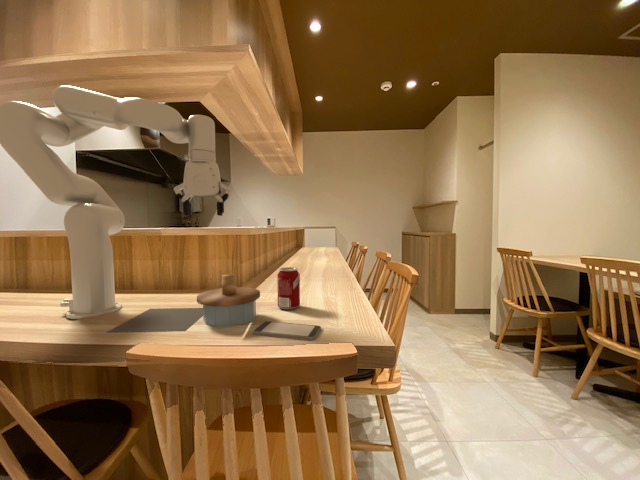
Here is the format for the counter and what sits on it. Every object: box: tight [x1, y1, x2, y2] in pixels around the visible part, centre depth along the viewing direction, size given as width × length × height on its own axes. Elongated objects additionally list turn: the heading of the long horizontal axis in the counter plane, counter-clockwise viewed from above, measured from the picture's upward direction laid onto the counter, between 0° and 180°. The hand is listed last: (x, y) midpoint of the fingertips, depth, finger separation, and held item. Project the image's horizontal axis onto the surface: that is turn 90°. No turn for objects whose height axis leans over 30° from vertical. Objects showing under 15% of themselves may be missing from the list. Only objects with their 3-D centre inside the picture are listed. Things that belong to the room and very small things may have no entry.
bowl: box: [202, 300, 257, 328], centre depth 74 cm, size 13×13×6 cm
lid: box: [196, 273, 261, 306], centre depth 74 cm, size 16×16×6 cm
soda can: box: [276, 266, 301, 311], centre depth 85 cm, size 7×7×12 cm
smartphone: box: [252, 320, 322, 342], centre depth 66 cm, size 7×1×15 cm
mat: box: [105, 307, 203, 334], centre depth 74 cm, size 18×18×1 cm
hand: (204, 215), depth 85 cm, fingers open, 9 cm apart
